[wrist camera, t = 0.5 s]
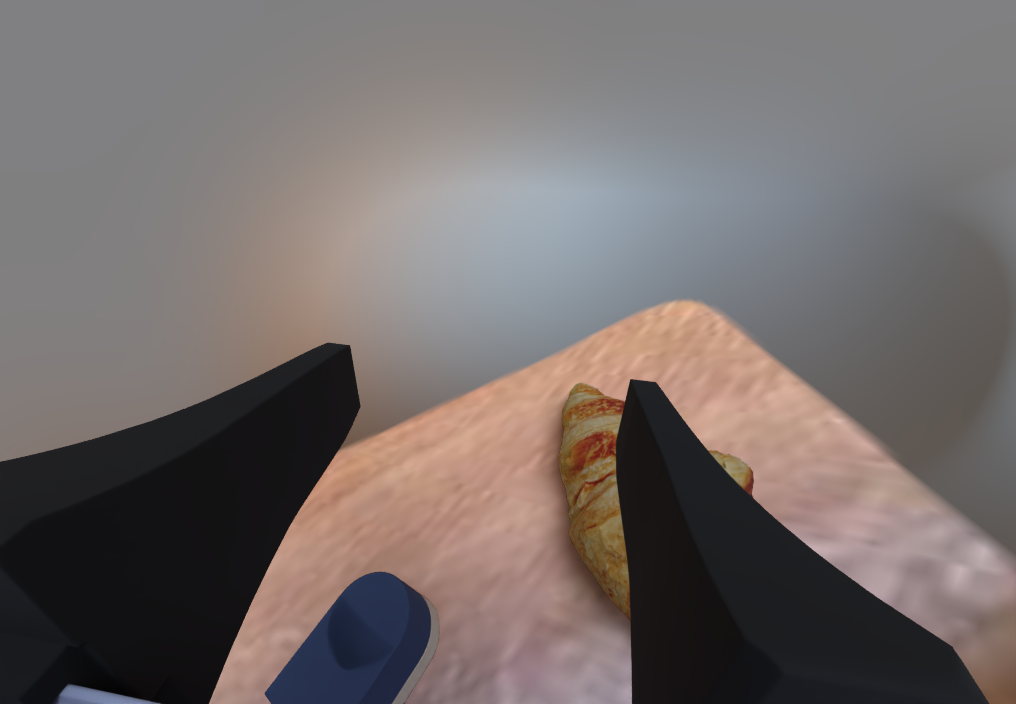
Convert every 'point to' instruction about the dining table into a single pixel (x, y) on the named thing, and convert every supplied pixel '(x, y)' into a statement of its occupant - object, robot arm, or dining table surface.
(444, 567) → the dining table surface
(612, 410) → the croissant
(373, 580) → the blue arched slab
